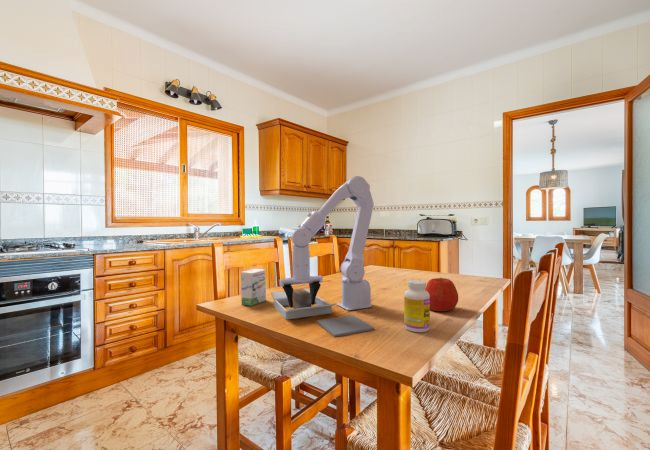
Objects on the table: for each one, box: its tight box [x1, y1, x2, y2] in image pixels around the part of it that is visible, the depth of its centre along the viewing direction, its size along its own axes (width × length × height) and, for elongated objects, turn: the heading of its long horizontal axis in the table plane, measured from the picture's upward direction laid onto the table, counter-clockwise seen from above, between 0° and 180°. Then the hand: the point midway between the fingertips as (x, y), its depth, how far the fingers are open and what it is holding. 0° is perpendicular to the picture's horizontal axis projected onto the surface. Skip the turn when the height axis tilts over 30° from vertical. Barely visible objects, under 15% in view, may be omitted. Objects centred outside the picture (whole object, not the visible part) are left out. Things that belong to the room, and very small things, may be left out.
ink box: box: [240, 268, 267, 307], centre depth 111 cm, size 8×5×12 cm, turn 154°
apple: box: [425, 277, 459, 312], centre depth 100 cm, size 11×11×11 cm
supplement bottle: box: [403, 279, 431, 333], centre depth 82 cm, size 7×7×13 cm
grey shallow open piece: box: [270, 288, 338, 321], centre depth 101 cm, size 15×23×4 cm, turn 23°
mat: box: [316, 314, 375, 338], centre depth 85 cm, size 12×12×1 cm
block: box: [292, 288, 312, 309], centre depth 101 cm, size 4×8×6 cm, turn 23°
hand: (301, 305), depth 101 cm, fingers open, 7 cm apart
